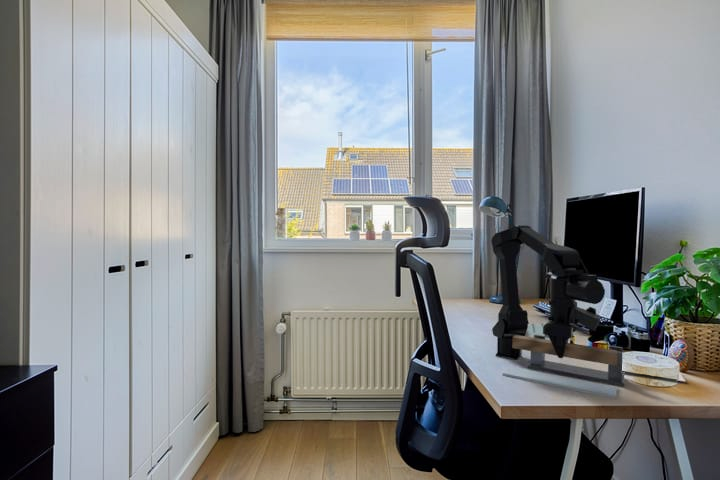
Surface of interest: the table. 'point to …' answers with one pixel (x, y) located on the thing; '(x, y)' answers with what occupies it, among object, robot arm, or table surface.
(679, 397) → the table surface
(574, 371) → the dark grey u-shaped stand
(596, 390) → the blue-grey mat
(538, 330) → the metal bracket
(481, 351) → the table surface
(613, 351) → the walnut bar
